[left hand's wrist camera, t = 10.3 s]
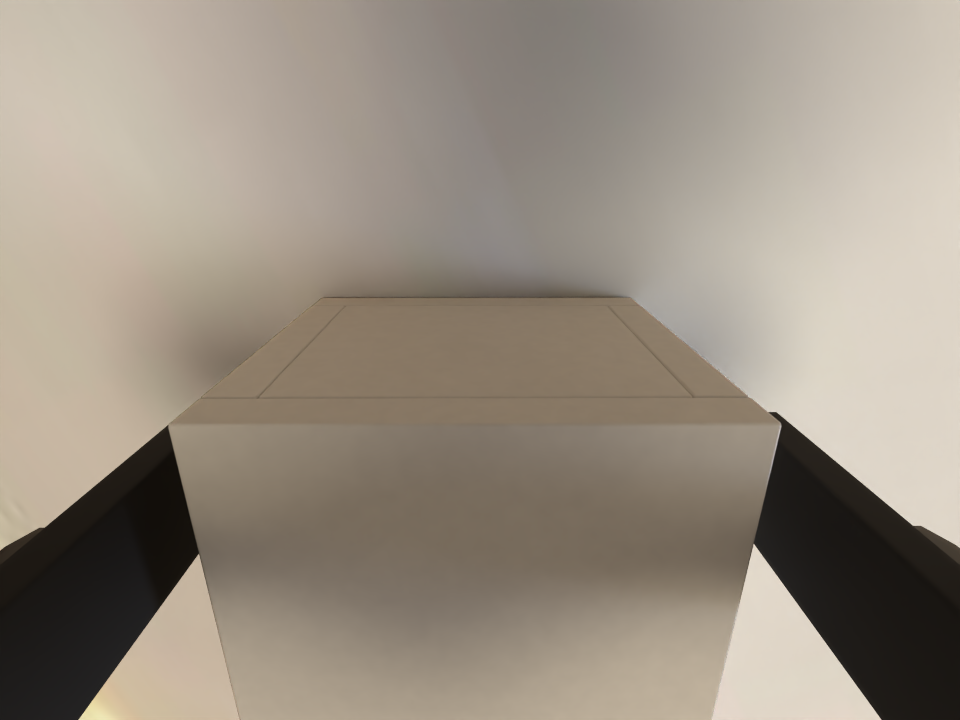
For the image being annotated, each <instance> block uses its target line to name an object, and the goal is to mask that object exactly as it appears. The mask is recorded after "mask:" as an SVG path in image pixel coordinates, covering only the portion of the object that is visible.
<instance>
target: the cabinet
mask: <svg viewBox="0 0 960 720" xmlns="http://www.w3.org/2000/svg"><path fill="white" fill-rule="evenodd" d="M168 428H169V432H170V436H171V441H172V445H173V449H174V453H175V457H176V461H177V465H178V469H179V473H180V477H181V481H182V485H183V490H184V494H185V498H186V502H187V506H188V510H189V514H190V518H191V522H192V526H193V530H194V535H195V539H196V543H197V547H198V551H199V555H200V559H201V563H202V567H203V571H204V575H205V579H206V584H207V588H208V592H209V596H210V600H211V604H212V608H213V612H214V616H215V620H216V624H217V629H218V633H219V637H220V641H221V645H222V649H223V653H224V657H225V661H226V665H227V669H228V673H229V678H230V682H231V686H232V690H233V694H234V698H235V702H236V706H237V710H238V714H239V718H240V720H712V717H713V713H714V708H715V704H716V700H717V696H718V692H719V687H720V683H721V679H722V675H723V670H724V666H725V662H726V658H727V654H728V649H729V645H730V641H731V637H732V632H733V628H734V624H735V620H736V616H737V611H738V607H739V603H740V599H741V595H742V590H743V586H744V582H745V578H746V573H747V569H748V565H749V561H750V557H751V552H752V548H753V544H754V540H755V535H756V531H757V527H758V523H759V519H760V514H761V510H762V506H763V502H764V497H765V493H766V489H767V485H768V481H769V476H770V472H771V468H772V464H773V459H774V455H775V451H776V447H777V443H778V438H779V434H780V430H781V423H780V422H779V421H778V420H777V419H776V418H774V417H773V416H772V415H771V414H770V413H768V412H767V411H766V410H765V409H764V408H762V407H761V406H760V405H759V404H758V403H756V402H755V401H754V400H753V399H751V398H749V397H748V395H746V394H745V393H744V392H743V391H742V390H740V389H739V388H738V387H737V386H736V385H734V384H733V383H732V382H731V381H730V380H728V379H727V378H726V377H725V376H724V375H723V374H721V373H720V372H719V371H718V370H717V369H715V368H714V367H713V366H712V365H711V364H709V363H708V362H707V361H706V360H705V359H703V358H702V357H701V356H700V355H699V354H697V353H696V352H695V351H694V350H693V349H692V348H690V347H689V346H688V345H687V344H686V343H684V342H683V341H682V340H681V339H680V338H678V337H677V336H676V335H675V334H674V333H672V332H671V331H670V330H669V329H668V328H667V327H665V326H664V325H663V324H662V323H661V322H659V321H658V320H657V319H656V318H655V317H653V316H652V315H651V314H650V313H649V312H647V311H646V310H645V309H644V308H643V307H641V306H640V305H639V304H638V303H637V302H635V301H634V300H633V299H632V298H321V299H320V300H319V301H318V302H316V303H315V304H314V305H313V306H311V307H310V308H308V309H307V310H306V311H305V312H304V313H302V314H301V315H300V316H299V317H298V318H296V319H295V320H294V321H293V322H292V323H290V324H289V325H288V326H287V327H285V328H284V329H283V330H282V331H281V332H279V333H278V334H277V335H276V336H275V337H273V338H272V339H271V340H270V341H268V342H267V343H266V344H265V345H264V346H262V347H261V348H260V349H259V350H258V351H256V352H255V353H254V354H253V355H252V356H250V357H249V358H248V359H247V360H245V361H244V362H243V363H242V364H241V365H239V366H238V367H237V368H236V369H235V370H233V371H232V372H231V373H230V374H229V375H227V376H226V377H225V378H224V379H222V380H221V381H220V382H219V383H218V384H216V385H215V386H214V387H213V388H212V389H210V390H209V391H208V392H207V393H206V394H204V395H203V396H202V397H201V399H199V400H197V401H196V402H195V403H194V404H193V405H191V406H190V407H189V408H188V409H186V410H185V411H184V412H183V413H182V414H180V415H179V416H178V417H177V418H176V419H174V420H173V421H172V422H171V423H170V424H169V426H168Z"/></svg>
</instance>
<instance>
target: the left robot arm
mask: <svg viewBox="0 0 960 720" xmlns="http://www.w3.org/2000/svg"><path fill="white" fill-rule="evenodd" d="M768 413H770V414H771V415H772V416H773V417H774V418H776V419H777V420H778V421H779V422H780V423H781V430H780V434H779V438H778V443H777V447H776V451H775V455H774V459H773V464H772V468H771V472H770V476H769V481H768V485H767V489H766V493H765V497H764V502H763V506H762V510H761V514H760V519H759V523H758V527H757V531H756V535H755V540H754V544H755V546H756V547H757V548H758V550H759V551H760V553H761V554H762V555H763V557H764V558H765V560H766V561H767V562H768V564H769V565H770V566H771V568H772V569H773V571H774V572H775V573H776V575H777V576H778V577H779V579H780V580H781V582H782V583H783V584H784V586H785V587H786V588H787V590H788V591H789V593H790V594H791V595H792V597H793V598H794V599H795V601H796V602H797V604H798V605H799V606H800V608H801V609H802V611H803V612H804V613H805V615H806V616H807V617H808V619H809V620H810V622H811V623H812V624H813V626H814V627H815V628H816V630H817V631H818V633H819V634H820V635H821V637H822V638H823V639H824V641H825V642H826V644H827V645H828V646H829V648H830V649H831V651H832V652H833V653H834V655H835V656H836V657H837V659H838V660H839V662H840V663H841V664H842V666H843V667H844V668H845V670H846V671H847V673H848V674H849V675H850V677H851V678H852V679H853V681H854V682H855V684H856V685H857V686H858V688H859V689H860V690H861V692H862V693H863V695H864V696H865V697H866V699H867V700H868V702H869V703H870V704H871V706H872V707H873V708H874V710H875V711H876V713H877V714H878V715H879V717H880V718H881V719H882V720H960V548H959V547H958V546H956V545H955V544H953V543H951V542H949V541H947V540H946V539H944V538H942V537H940V536H938V535H936V534H935V533H933V532H931V531H929V530H927V529H925V528H924V527H922V526H912V525H911V524H910V523H909V522H908V521H906V520H905V519H904V518H903V517H902V516H900V515H899V514H898V513H897V512H896V511H894V510H893V509H892V508H891V507H890V506H888V505H887V504H886V503H885V502H884V501H882V500H881V499H880V498H879V497H878V496H876V495H875V494H874V493H873V492H872V491H870V490H869V489H868V488H867V487H866V486H864V485H863V484H862V483H861V482H860V481H858V480H857V479H856V478H855V477H854V476H852V475H851V474H850V473H849V472H848V471H846V470H845V469H844V468H843V467H842V466H840V465H839V464H838V463H837V462H836V461H834V460H833V459H832V458H831V457H829V456H828V455H827V454H826V453H825V452H823V451H822V450H821V449H820V448H819V447H817V446H816V445H815V444H814V443H813V442H811V441H810V440H809V439H808V438H807V437H805V436H804V435H803V434H802V433H801V432H799V431H798V430H797V429H796V428H795V427H793V426H792V425H791V424H790V423H789V422H787V421H786V420H785V419H784V418H783V417H781V416H780V415H779V414H778V413H777V412H768ZM168 426H169V425H168ZM168 426H167V427H165V428H164V429H163V430H162V431H161V432H159V433H158V434H157V435H156V436H155V437H153V438H152V439H151V440H150V441H149V442H147V443H146V444H145V445H144V446H143V447H141V448H140V449H139V450H138V451H137V452H135V453H134V454H133V455H132V456H131V457H129V458H128V459H127V460H126V461H124V462H123V463H122V464H121V465H120V466H118V467H117V468H116V469H115V470H114V471H112V472H111V473H110V474H109V475H108V476H106V477H105V478H104V479H103V480H102V481H100V482H99V483H98V484H97V485H96V486H94V487H93V488H92V489H91V490H90V491H88V492H87V493H86V494H85V495H84V496H82V497H81V498H80V499H79V500H78V501H76V502H75V503H74V504H73V505H72V506H70V507H69V508H68V509H67V510H66V511H64V512H63V513H62V514H61V515H60V516H58V517H57V518H56V519H55V520H54V521H52V522H51V523H50V524H49V525H48V526H46V527H45V528H38V529H37V530H35V531H33V532H31V533H29V534H28V535H26V536H24V537H22V538H20V539H18V540H17V541H15V542H13V543H11V544H9V545H8V546H6V547H4V548H3V549H2V550H1V551H0V720H78V719H79V718H80V717H81V715H82V714H83V713H84V711H85V710H86V708H87V707H88V706H89V704H90V703H91V702H92V700H93V699H94V697H95V696H96V695H97V693H98V692H99V690H100V689H101V688H102V686H103V685H104V684H105V682H106V681H107V679H108V678H109V677H110V675H111V674H112V673H113V671H114V670H115V668H116V667H117V666H118V664H119V663H120V662H121V660H122V659H123V657H124V656H125V655H126V653H127V652H128V651H129V649H130V648H131V646H132V645H133V644H134V642H135V641H136V639H137V638H138V637H139V635H140V634H141V633H142V631H143V630H144V628H145V627H146V626H147V624H148V623H149V622H150V620H151V619H152V617H153V616H154V615H155V613H156V612H157V611H158V609H159V608H160V606H161V605H162V604H163V602H164V601H165V599H166V598H167V597H168V595H169V594H170V593H171V591H172V590H173V588H174V587H175V586H176V584H177V583H178V582H179V580H180V579H181V577H182V576H183V575H184V573H185V572H186V571H187V569H188V568H189V566H190V565H191V564H192V562H193V561H194V560H195V558H196V557H197V555H198V554H199V551H198V547H197V543H196V539H195V535H194V530H193V526H192V522H191V518H190V514H189V510H188V506H187V502H186V498H185V494H184V490H183V485H182V481H181V477H180V473H179V469H178V465H177V461H176V457H175V453H174V449H173V445H172V441H171V436H170V432H169V428H168Z"/></svg>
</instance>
